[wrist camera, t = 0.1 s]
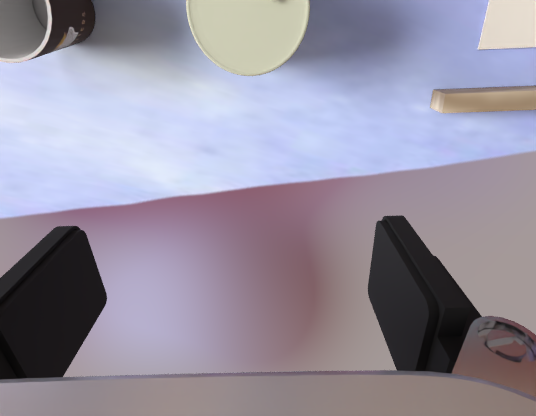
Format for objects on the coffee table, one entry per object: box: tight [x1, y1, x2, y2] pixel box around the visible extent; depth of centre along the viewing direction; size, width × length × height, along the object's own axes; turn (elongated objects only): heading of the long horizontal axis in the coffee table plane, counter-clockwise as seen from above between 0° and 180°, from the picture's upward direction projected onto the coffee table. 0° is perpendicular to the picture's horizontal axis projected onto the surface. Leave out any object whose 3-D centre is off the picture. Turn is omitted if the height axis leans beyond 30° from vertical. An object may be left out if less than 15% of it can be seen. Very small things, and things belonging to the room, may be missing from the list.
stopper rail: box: [430, 86, 536, 113], centre depth 37 cm, size 2×20×3 cm, turn 92°
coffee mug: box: [0, 0, 95, 63], centre depth 30 cm, size 12×9×10 cm
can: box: [186, 0, 310, 76], centre depth 30 cm, size 9×9×12 cm
